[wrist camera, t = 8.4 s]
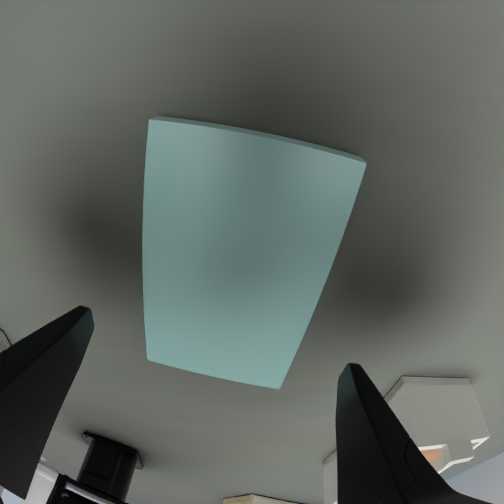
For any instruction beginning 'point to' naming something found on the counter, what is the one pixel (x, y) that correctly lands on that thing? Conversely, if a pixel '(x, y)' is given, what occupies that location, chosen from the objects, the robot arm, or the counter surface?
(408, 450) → the robot arm
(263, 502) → the coffeecake box
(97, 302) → the counter surface
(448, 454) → the tub
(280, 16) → the counter surface
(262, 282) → the lid
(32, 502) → the bottle
